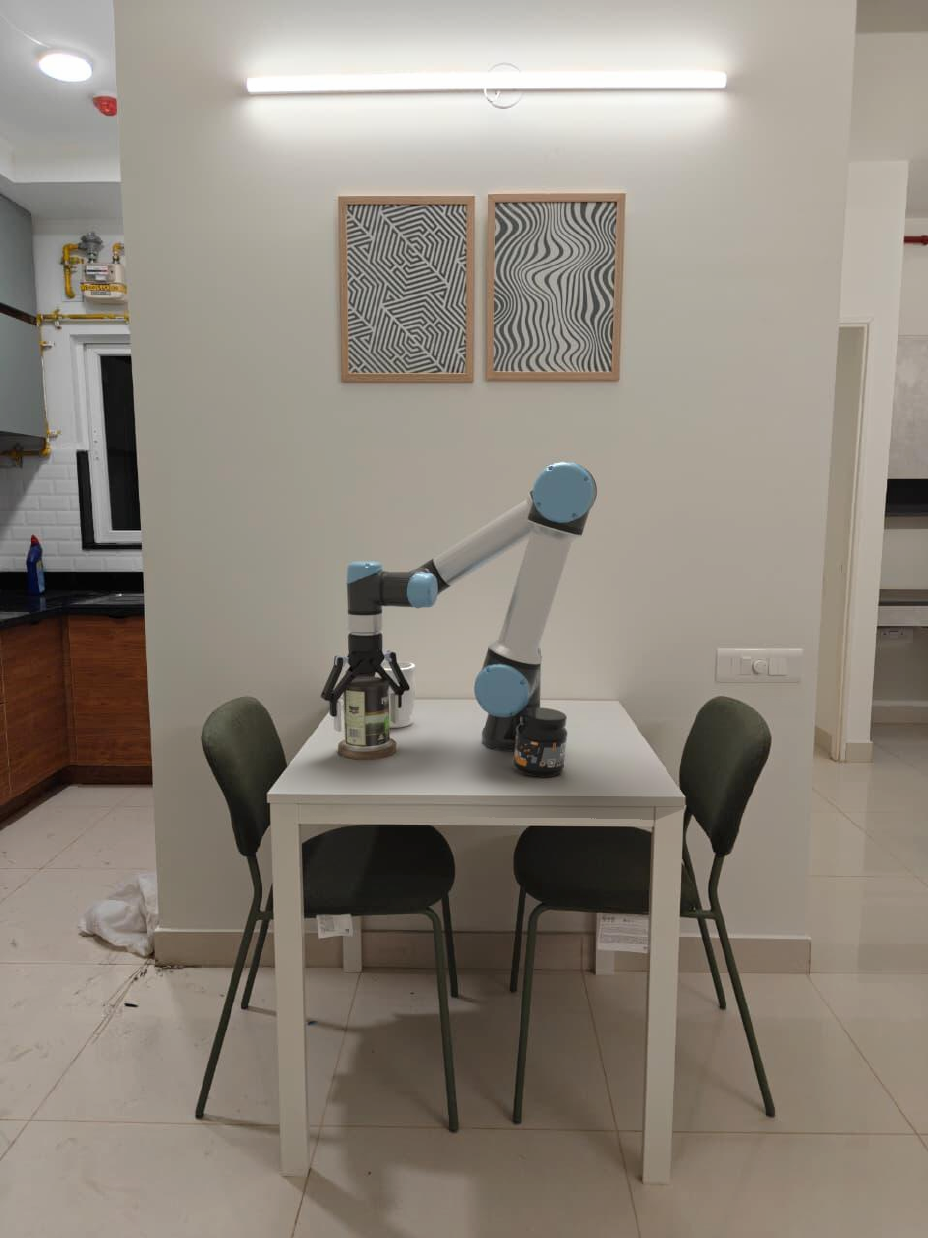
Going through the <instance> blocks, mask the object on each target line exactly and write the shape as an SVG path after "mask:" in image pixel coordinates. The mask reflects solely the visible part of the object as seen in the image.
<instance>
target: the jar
mask: <svg viewBox="0 0 928 1238" xmlns="http://www.w3.org/2000/svg"><path fill="white" fill-rule="evenodd" d="M397 663H398V665H399V667H400V669H401V671H402V673H403V675H404V677H405V679H406V681H407V683H408V685H409V687H410V689H409V690H408V691H405V692H404V694H403V695H402V706H401V708H398V724H395V723H393V722H392V721H391V712H390V693H394V691H393V690H392V689H391V688H390V687H389V729H397V728H405V727H408V726H410V725H411V724H412V722H413V721H412V719H411V715H412V713H413V710H414V706H415V705H414V704H415V699H416V679H415V674H414V671H415V669H416V664H415V663H412V662H407V661H399V660H397ZM381 666H382V667H383V669H384V670H385V671H386V673H387V674H388V675H389V676H390V677H391V678H392V679H393V680H394V682H395V683H396V684H397V685H398V686H400V685H399V683H398V681H397V679H396V677H395V675H394V673H393V671H392V669H391V667H390V665H389V663H388V661H385V662H384V661H383V662H382V663H381ZM375 677H380V675H379V674H378V673H377V672H376V674H375Z"/></svg>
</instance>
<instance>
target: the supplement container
mask: <svg viewBox="0 0 928 1238" xmlns="http://www.w3.org/2000/svg"><path fill="white" fill-rule="evenodd" d="M567 718H568V717H567V715H566V714H565V712H562V711H560V710H557V709H555V708H548V707H543V706H540V707H530V708H525V709H523V710H521V712H520V723H519V724H518V725H517V727H516V732H517V733H516V744H515V751H514V756H513V765H514V767H515V768H516V770H518V771H519V772H521V773H523V774H526V775H529V776H532V777H538V778H539V777H543V778H546V777H547V778H549V777H553V776H557V775H559V774H560V773H562V772H563V770H564V768H565V756H566V755H565V754H566V745H567V738H568V733H569V732H568V729H566V725H567Z"/></svg>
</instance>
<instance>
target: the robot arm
mask: <svg viewBox="0 0 928 1238" xmlns="http://www.w3.org/2000/svg"><path fill="white" fill-rule="evenodd" d="M595 480H596V479H595V478H594V476H593V475H592V473H591V472H590V471H589V470H588V469H587V468H585V467H584V466H582V465H580V464H578V463H576V462H570V461H558V462H554V463H552V464H550V465H548V466H546V468H544V469H543V470H542V471H541V472H540V473H539V474H538V476H537V477H536V478H535V481H534V484H533V488H532V490H530V491H529V492H527V497H526V499H525V500H522V502H520V503H519V504H517V505H516V506H514V507H513V508H511V509H509V510H507V511H506V512H504V513H503V514H501V515H500V516H498V517H496V518H494V519H493V520H492V521H491V522H489V523H487V524H485V525H484V526H483V527H482V526H481V528H479V529H478V530H476V531H474V532H473V533H471V534H470V535H468V536H467V537H465V538H463V539H462V540H460V541H459V542H457V543H456V544H454V545H452V546H451V547H450V548H448V549H446V550H445V551H443V552H442V553H439V554H438V555H437V556H435V557H434V558H432V559H431V560H428V561H427V562H425V563H424V564H422V565H420V566H419V567H416V568H415V569H412V570H409V571H385V570H384V571H383V566H382V564H381V562H378V561H354V562H350V563H349V564H348V565H347V569H346V570H347V573H346V574H347V575H346V594H347V595H346V597H347V599H346V600H347V630H348V632H349V633H348V634H347V650H348V653H347V656H339V655H335V656H334V657H333V666H332V667H331V670H330V673H329V676H328V678H327V679H326V682H325V684H324V687H323V689H322V691H321V693H320V698H321V699H323V701H325V702H328V703H329V705H328V706H329V715H330V716H331V717H333V730H334V731H336V732H337V733H341V732H342V702H341V701H340V698H341V696H342V695H343V693H344V691H345V690H346V685H349V684H350V683H351V682H352V680H353V679H354V678H356V676H357V675H358V674H359V675H365V674H374V673H375V672H377V673H378V674H379V675H380V677H381V678H382V679H384V680H389V687H390V688H391V689H392V690H393V691H394V693H390V712H391V721H392V722H393V723H395V724H398V708H401V706H402V695H403V694H404V692H405V691H408V690H409V689H410V687H409V685H408V683H407V681H406V679H405V677H404V675H403V673H402V671H401V669H400V667H399V665H398V663H397V661H398V660H397V653H396V652H394V651H392V650H388V651H386V652H383V634H382V632H381V631H383V607H400V608H415V609H421V608H432V607H434V605H435V604H436V601H437V598H438V596H439V595H440V594H441V593H443V592H444V591H445V590H447V589H449V588H450V587H452V586H453V585H455V584H456V583H458V582H460V581H461V580H463V579H465V578H466V577H468V576H470V575H472V574H473V573H474V572H476V571H478V570H479V569H481V568H482V567H485V566H486V565H488V564H489V563H491V562H493V561H494V560H496V559H498V558H499V557H500V556H502V555H504V554H505V553H507V552H509V551H510V550H512V549H514V548H515V547H516V546H519V545H520V544H521V543H523V542H525V541H527V540H528V541H527V543H526V544H527V545H526V547H525V550H524V555H523V557H522V560H521V562H520V563H521V564H520V567H519V570H518V573H517V577H516V581H515V583H514V584H515V585H514V587H513V590H512V594H511V596H510V597H511V598H510V599H509V603H508V607H507V610H506V614H505V617H504V620H503V623H502V627H501V631H500V633H499V635H498V638H497V639H496V640H495V641H492V642H490V644H489V645H488V647H487V648H488V649H487V651H486V655H485V657H484V661H483V664H482V668H481V670H480V671H479V673H478V674H477V675H476V677H475V680H474V685H473V689H474V690H473V691H474V697H475V699H476V702H477V704H478V705H479V706H480V707H481V708H482V710H483V711H484V712H486V713H487V718H486V720H485V721H486V722H485V724H484V727H483V730H482V733H481V741H482V743H483V745H485V746H486V747H490V748H492V749H496V750H501V751H507V752H508V751H509V752H515V744H516V733H517V732H516V727H517V725H518V724H519V723H520V712H521V710H523V709H525V708H530V707H541V682H542V681H541V676H542V675H541V671H542V668H541V665H542V662H543V659H542V658H543V657H542V652H541V651H542V649H541V647H540V643H541V641H542V639H543V636H544V635H543V634H544V631H545V629H546V625H547V622H548V618H549V616H550V612H551V610H552V606H553V603H554V600H555V597H556V593H557V591H558V587H559V584H560V582H561V581H560V580H561V577H562V574H563V571H564V568H565V564H566V561H567V559H568V556H569V553H570V550H571V546H572V543H573V542H574V541H576V540H577V539H579V538H581V537H582V536H583V532H584V529H585V526H586V523H587V520H588V517H589V513H590V510H591V509H592V508H593V506H594V504H595V502H596V500H597V494H598V487H597V482H596V481H595ZM384 660H385V662H388V663H389V665H390V667H391V669H392V671H393V673H394V675H395V677H396V679H397V681H398V683H399V685H400V686H398V685H397V684H396V683H395V682H394V680H393V679H392V678H391V677H390V676H389V675H388V674H387V673H386V671H385V670H384V669H383V667H382V666H381V663H383V662H384ZM346 664H348V665H349V666H348V668H347V669H346V670H345V673H344V675H343V677H341V679H340V680H339V678H340V675H341V674H342V670H343V668H344V667H345V666H346ZM338 680H339V682H338ZM337 682H338V683H337Z"/></svg>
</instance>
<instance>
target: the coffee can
mask: <svg viewBox="0 0 928 1238" xmlns="http://www.w3.org/2000/svg"><path fill="white" fill-rule="evenodd" d="M342 695H343V697H342V698H343V720H344V721H343V726H344V727H343V729H344V730H343V731H344V732H343V733H344V740H345V742H344V744H345V746H347V747H349V748H353V749H376V748H381V747H384V746H386V745H388V744H389V743H390V738H391V737H390V728H389V680H384V679H382V678H381V677H357V678H354V679H353V680H352V682H351V683H350V684H349V685H346V690H345V691H344V693H343V694H342Z"/></svg>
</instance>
